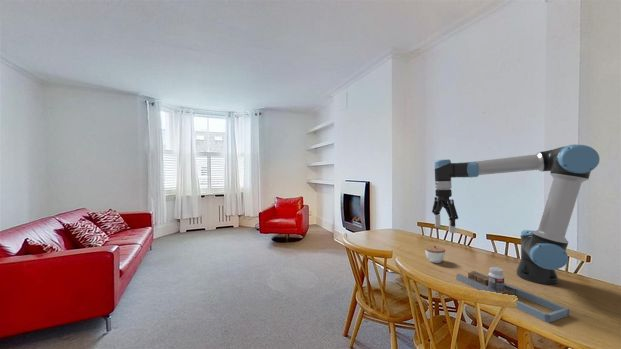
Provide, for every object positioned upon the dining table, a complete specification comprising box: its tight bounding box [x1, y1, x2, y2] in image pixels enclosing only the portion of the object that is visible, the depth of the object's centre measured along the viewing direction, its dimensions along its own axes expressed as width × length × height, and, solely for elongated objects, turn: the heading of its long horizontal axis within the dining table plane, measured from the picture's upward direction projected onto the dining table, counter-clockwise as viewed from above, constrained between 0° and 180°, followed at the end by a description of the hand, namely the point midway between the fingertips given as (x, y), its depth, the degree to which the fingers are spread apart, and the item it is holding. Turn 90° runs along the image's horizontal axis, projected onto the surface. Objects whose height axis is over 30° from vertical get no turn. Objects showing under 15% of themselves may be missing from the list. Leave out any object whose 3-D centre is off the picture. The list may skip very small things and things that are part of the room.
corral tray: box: [515, 287, 570, 324], centre depth 97 cm, size 17×12×2 cm
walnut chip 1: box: [467, 271, 482, 281], centre depth 120 cm, size 4×4×4 cm
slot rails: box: [455, 270, 518, 296], centre depth 115 cm, size 20×12×2 cm, turn 19°
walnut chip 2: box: [477, 274, 488, 286], centre depth 116 cm, size 4×4×4 cm
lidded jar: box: [424, 244, 446, 264], centre depth 147 cm, size 11×11×9 cm
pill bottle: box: [487, 266, 505, 294], centre depth 110 cm, size 6×6×10 cm
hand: (444, 229), depth 131 cm, fingers open, 13 cm apart
